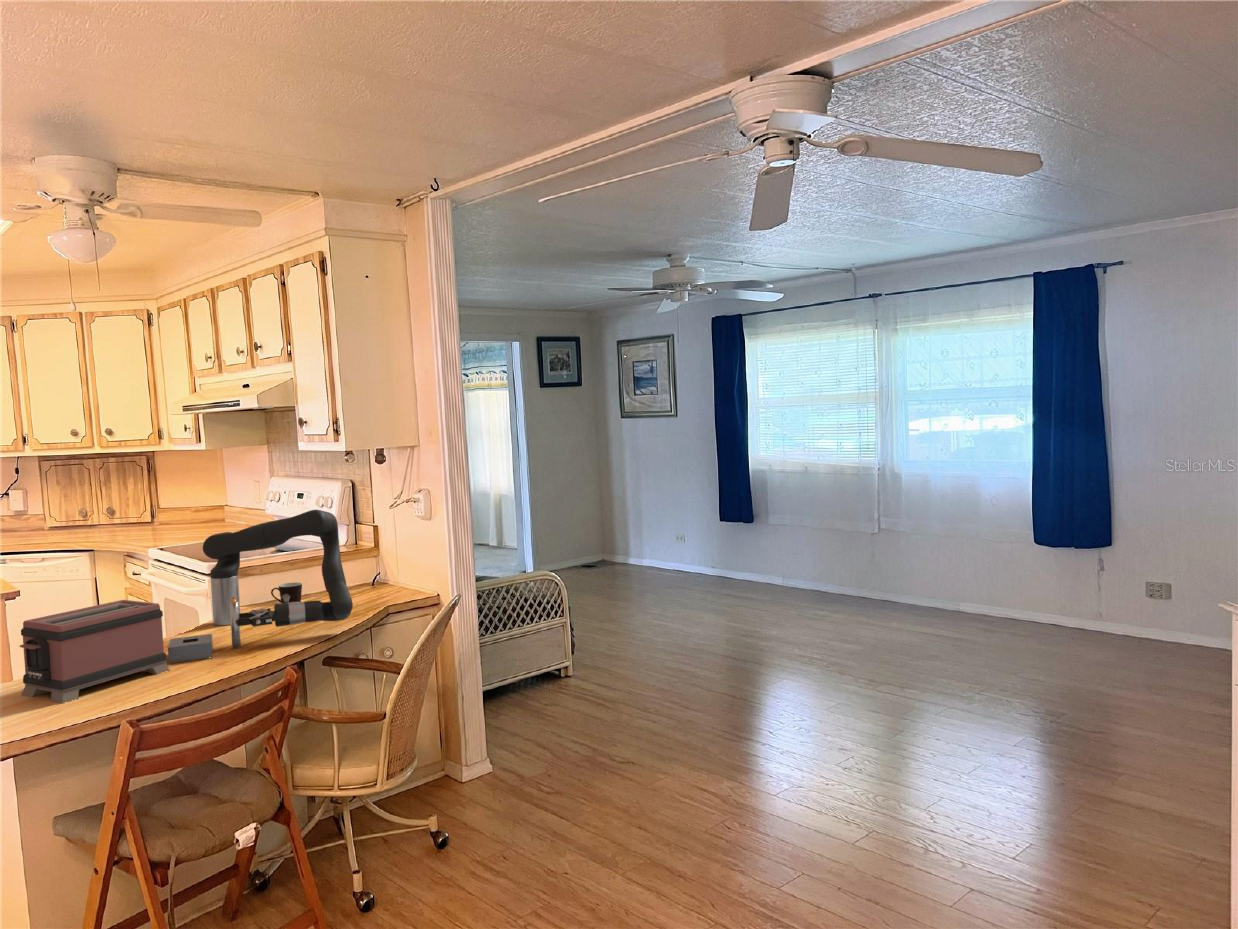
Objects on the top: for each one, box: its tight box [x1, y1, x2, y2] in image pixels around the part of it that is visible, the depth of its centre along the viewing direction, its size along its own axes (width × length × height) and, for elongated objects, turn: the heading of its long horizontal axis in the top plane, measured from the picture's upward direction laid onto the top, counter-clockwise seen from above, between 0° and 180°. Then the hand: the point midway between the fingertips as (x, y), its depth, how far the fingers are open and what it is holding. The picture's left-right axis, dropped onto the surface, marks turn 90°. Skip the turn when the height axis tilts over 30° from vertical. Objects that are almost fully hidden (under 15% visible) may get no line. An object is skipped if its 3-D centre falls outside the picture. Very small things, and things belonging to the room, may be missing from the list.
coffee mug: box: [270, 581, 303, 604], centre depth 330 cm, size 12×9×10 cm
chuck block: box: [167, 633, 214, 665], centre depth 267 cm, size 12×12×5 cm
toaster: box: [19, 599, 171, 705], centre depth 240 cm, size 19×34×21 cm, turn 153°
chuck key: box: [230, 597, 242, 649], centre depth 275 cm, size 6×3×16 cm, turn 25°
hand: (236, 620), depth 275 cm, fingers open, 8 cm apart
